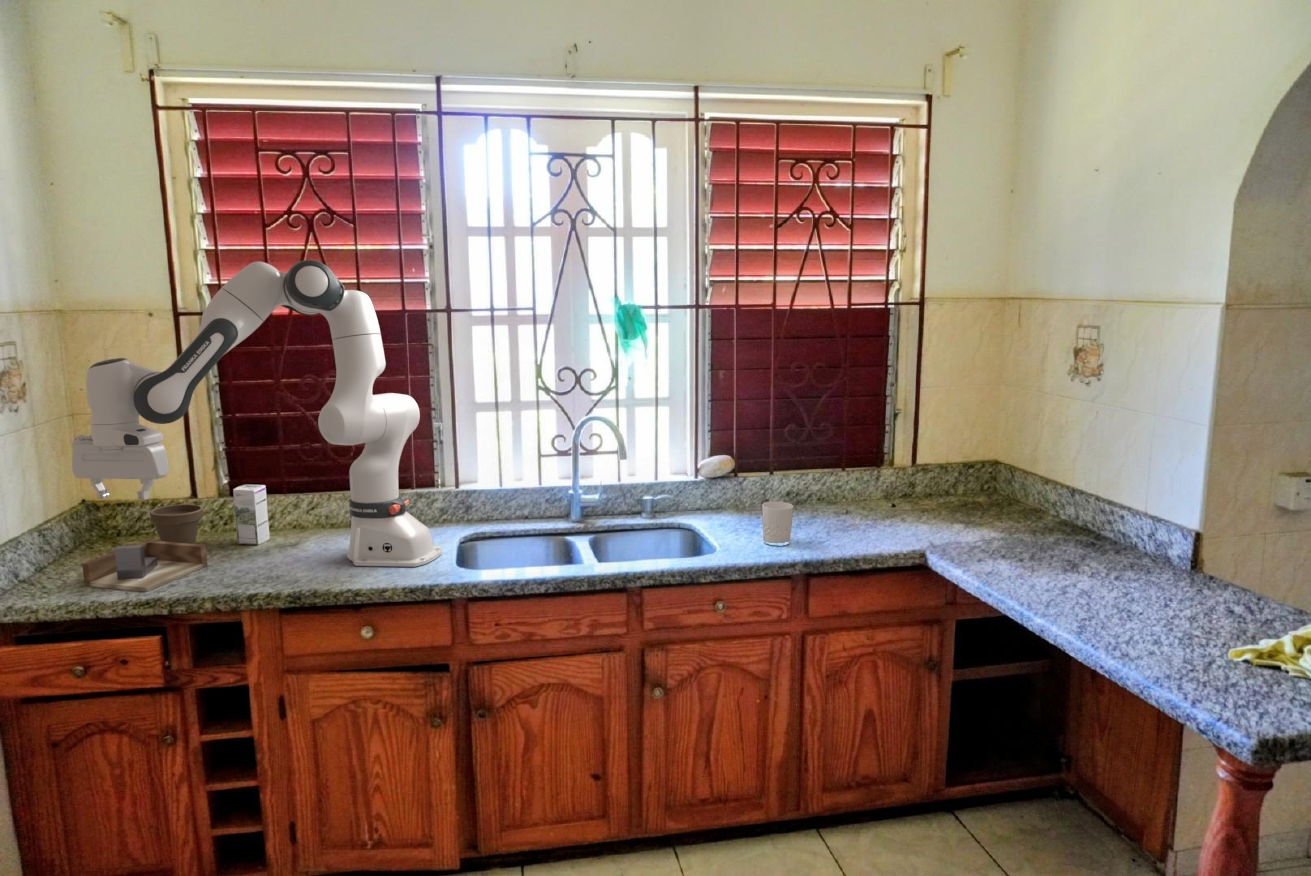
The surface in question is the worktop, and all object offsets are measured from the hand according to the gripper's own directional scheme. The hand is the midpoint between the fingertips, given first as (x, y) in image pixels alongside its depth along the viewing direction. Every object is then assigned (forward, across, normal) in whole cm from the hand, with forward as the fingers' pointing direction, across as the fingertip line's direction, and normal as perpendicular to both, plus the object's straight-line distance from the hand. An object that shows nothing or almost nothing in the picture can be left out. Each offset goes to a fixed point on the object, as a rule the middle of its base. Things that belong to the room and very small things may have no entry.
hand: (123, 498), depth 187 cm
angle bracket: (+18, -2, +4) cm, 19 cm away
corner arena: (+19, -1, +5) cm, 20 cm away
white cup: (+22, +140, +51) cm, 151 cm away
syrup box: (+19, +8, +33) cm, 39 cm away
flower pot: (+19, -7, +25) cm, 32 cm away
